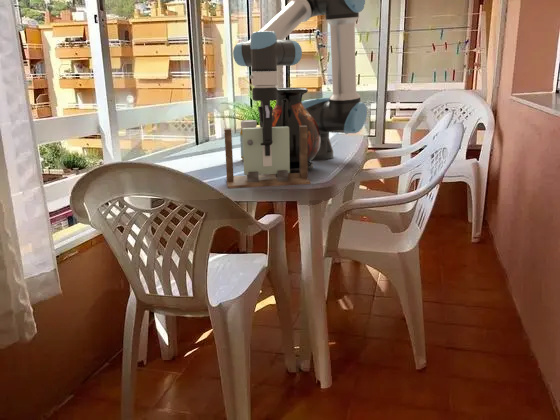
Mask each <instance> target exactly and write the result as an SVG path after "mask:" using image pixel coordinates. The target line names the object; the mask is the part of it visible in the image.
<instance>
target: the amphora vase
mask: <svg viewBox="0 0 560 420" xmlns="http://www.w3.org/2000/svg"><path fill="white" fill-rule="evenodd" d="M308 91H309V90H308V88H307V87H277V92H278V99H277V100H275V105H274V107H273V112H272V127H285V126H288V127H289V150H290V173H289V174H292V173H300V162H299V126H304V125H306V126H307V157H308V172H309V171H312V170H313V168H314V163H312V162H311V161H313V160H312V159H313V158H314V157H315V156H316V154H317V153H318V151H319V148H320V141H321V139H320V132H319V129H318V126H317V123H316V121H315V120H314V118H313V117H312V116H311V115H310V113H309V112H308V111H307V110H306V109H305V108H304V106H303V104H302V101H303V95H305V94H307V93H308Z"/></svg>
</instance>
